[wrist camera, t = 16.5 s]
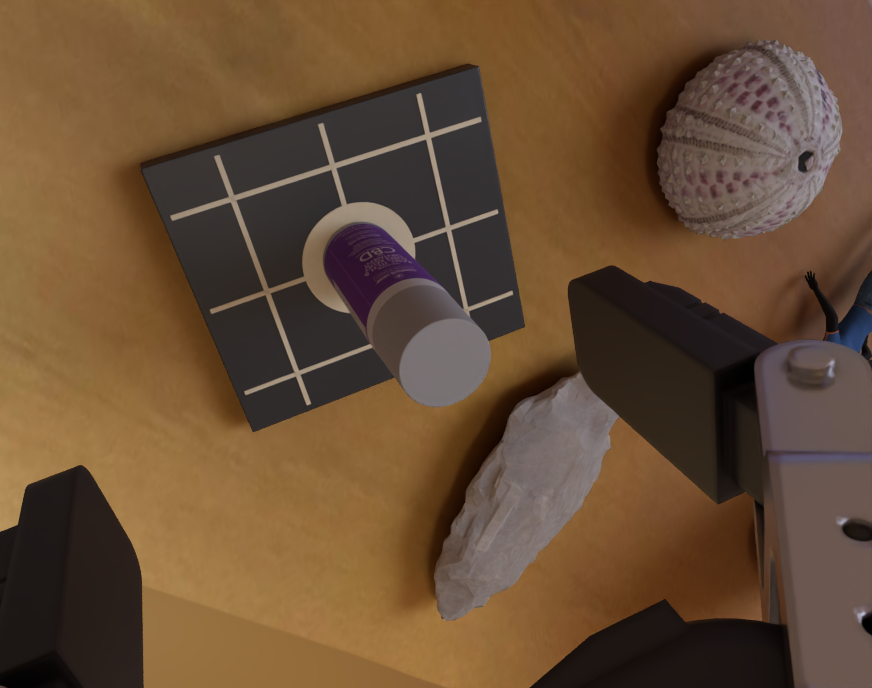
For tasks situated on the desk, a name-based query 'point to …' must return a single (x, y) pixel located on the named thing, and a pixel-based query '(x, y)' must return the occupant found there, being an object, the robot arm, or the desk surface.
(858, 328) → the person figurine
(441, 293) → the container
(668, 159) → the sea urchin shell
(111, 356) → the desk surface
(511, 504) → the stone tool
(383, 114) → the board
